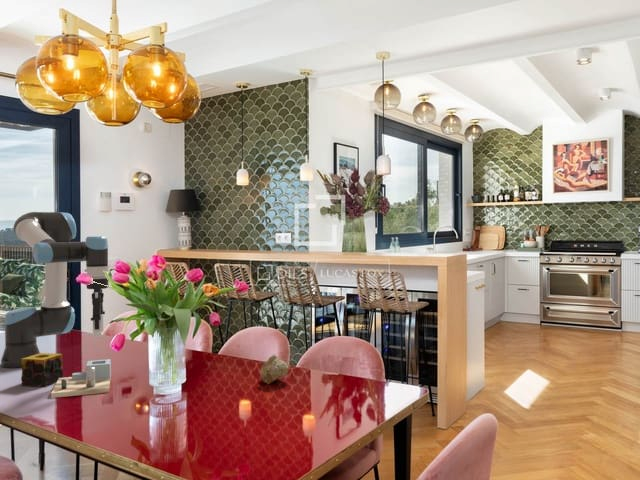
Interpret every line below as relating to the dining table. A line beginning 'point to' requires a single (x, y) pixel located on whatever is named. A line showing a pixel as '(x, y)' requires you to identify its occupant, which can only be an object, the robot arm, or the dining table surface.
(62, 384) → the dowel
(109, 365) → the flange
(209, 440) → the dining table surface
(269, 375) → the rock
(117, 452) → the dining table surface
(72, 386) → the board
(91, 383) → the post
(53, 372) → the yellow black cube
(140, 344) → the dining table surface
